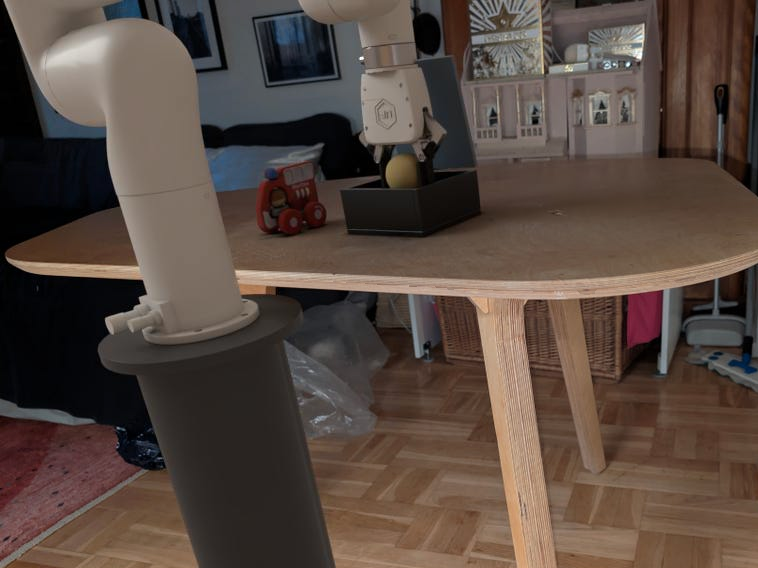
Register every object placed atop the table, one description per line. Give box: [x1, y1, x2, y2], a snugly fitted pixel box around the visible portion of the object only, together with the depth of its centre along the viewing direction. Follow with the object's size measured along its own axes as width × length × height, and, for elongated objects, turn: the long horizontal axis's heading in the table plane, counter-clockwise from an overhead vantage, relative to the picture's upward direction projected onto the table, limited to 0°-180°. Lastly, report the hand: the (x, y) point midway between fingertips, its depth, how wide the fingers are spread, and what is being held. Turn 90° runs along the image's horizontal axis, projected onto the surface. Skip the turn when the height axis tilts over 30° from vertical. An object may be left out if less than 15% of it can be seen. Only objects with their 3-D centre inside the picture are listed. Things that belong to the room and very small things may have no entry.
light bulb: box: [386, 153, 419, 188], centre depth 106 cm, size 6×6×10 cm
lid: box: [394, 54, 478, 170], centre depth 110 cm, size 16×15×5 cm
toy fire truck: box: [255, 160, 328, 235], centre depth 114 cm, size 7×12×10 cm, turn 144°
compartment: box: [339, 169, 482, 238], centre depth 108 cm, size 16×15×7 cm
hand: (408, 186), depth 106 cm, fingers closed on light bulb, 6 cm apart
